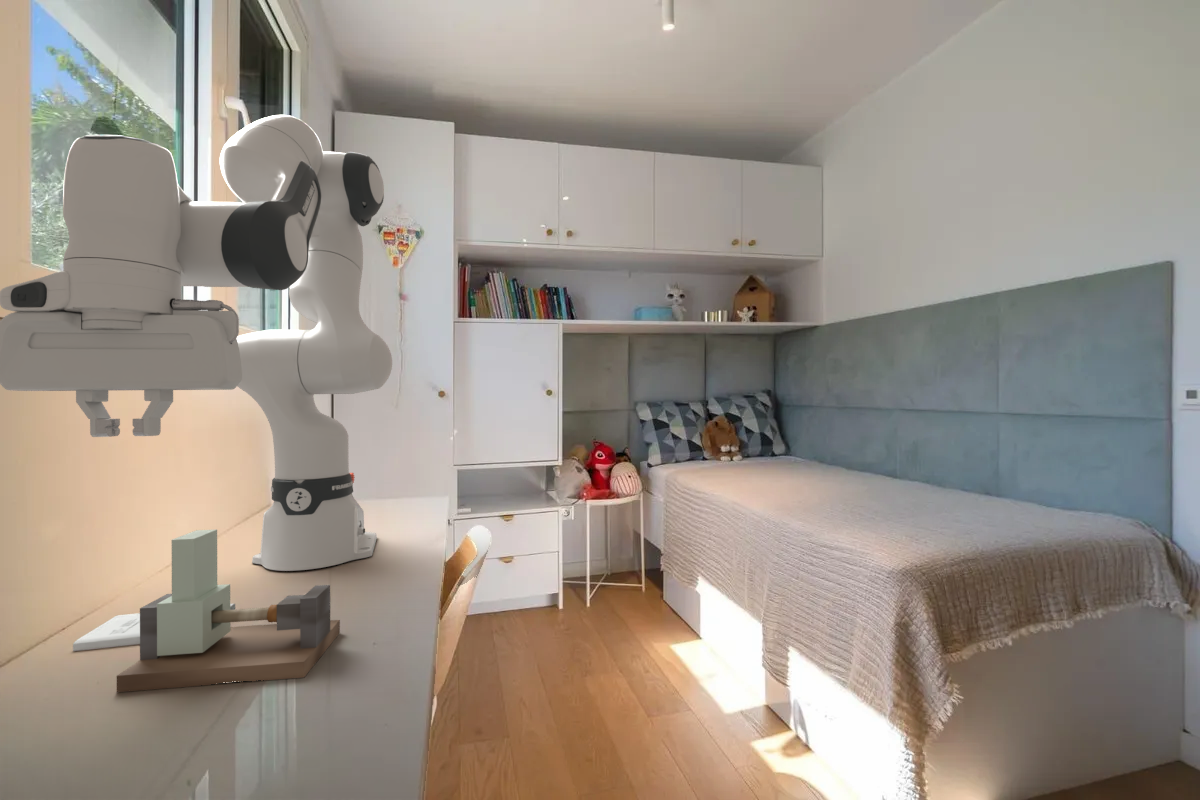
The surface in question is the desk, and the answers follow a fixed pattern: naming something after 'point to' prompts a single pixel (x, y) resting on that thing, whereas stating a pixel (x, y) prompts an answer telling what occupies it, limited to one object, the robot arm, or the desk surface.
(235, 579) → the desk surface
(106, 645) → the external hard drive
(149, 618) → the rod rail stand
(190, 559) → the mint green stepped block
